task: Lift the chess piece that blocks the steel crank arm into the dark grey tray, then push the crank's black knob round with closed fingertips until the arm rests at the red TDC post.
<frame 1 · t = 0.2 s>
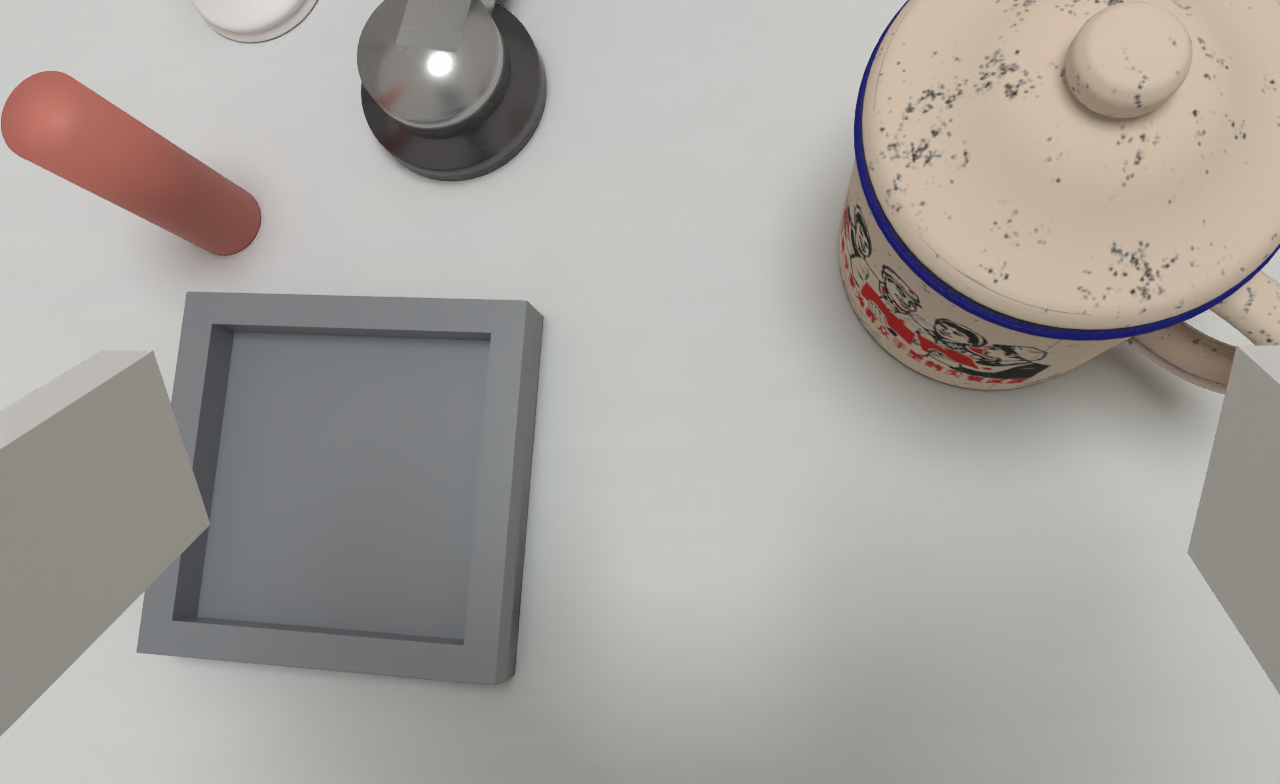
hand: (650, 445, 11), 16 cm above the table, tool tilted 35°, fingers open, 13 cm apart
tray: (361, 480, 29), on the table
crank base: (459, 95, 30), on the table
teacup with lid: (1021, 283, 27), on the table
tdc post: (227, 221, 31), on the table
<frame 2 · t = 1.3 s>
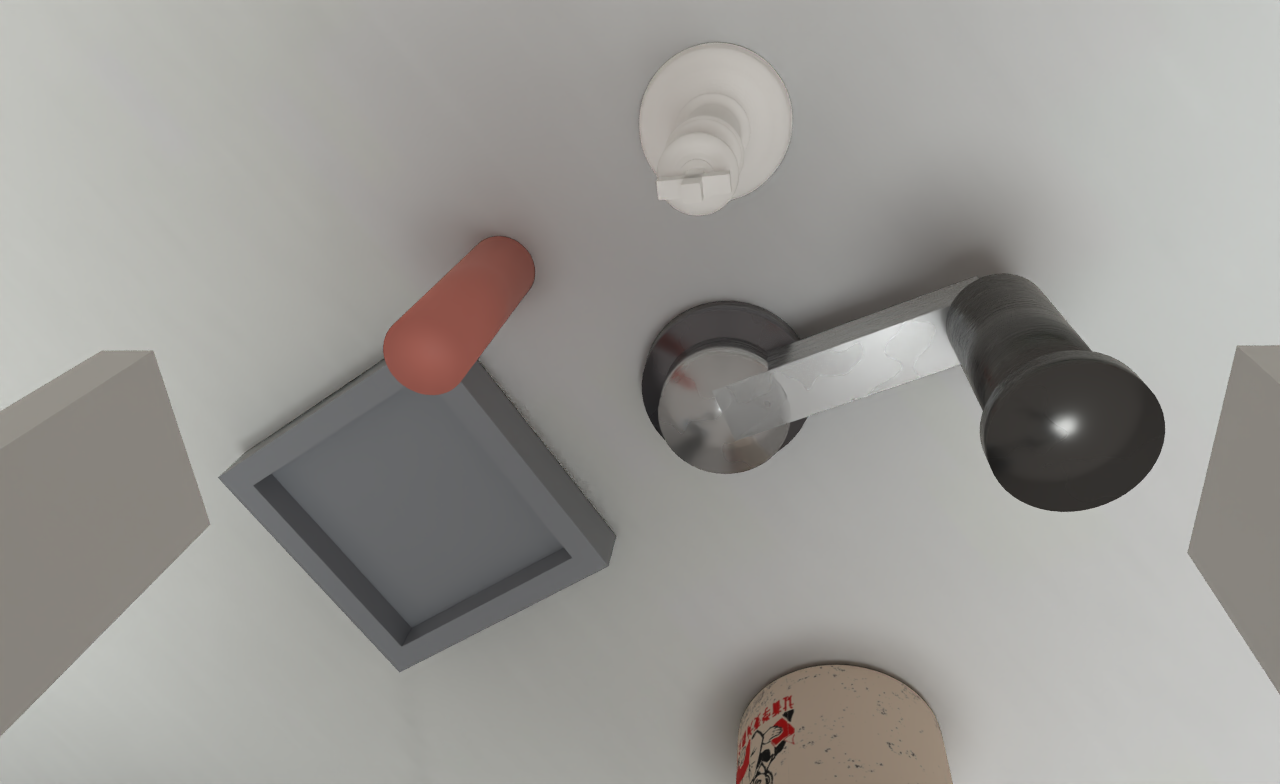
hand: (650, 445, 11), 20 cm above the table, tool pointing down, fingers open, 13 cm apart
tray: (429, 494, 37), on the table
crank base: (727, 379, 33), on the table
chess piece: (715, 123, 29), on the table
teacup with lid: (831, 757, 40), on the table
tdc post: (501, 269, 32), on the table
crank arm: (858, 415, 26), point 6 cm above the table, hinge at -10.0°
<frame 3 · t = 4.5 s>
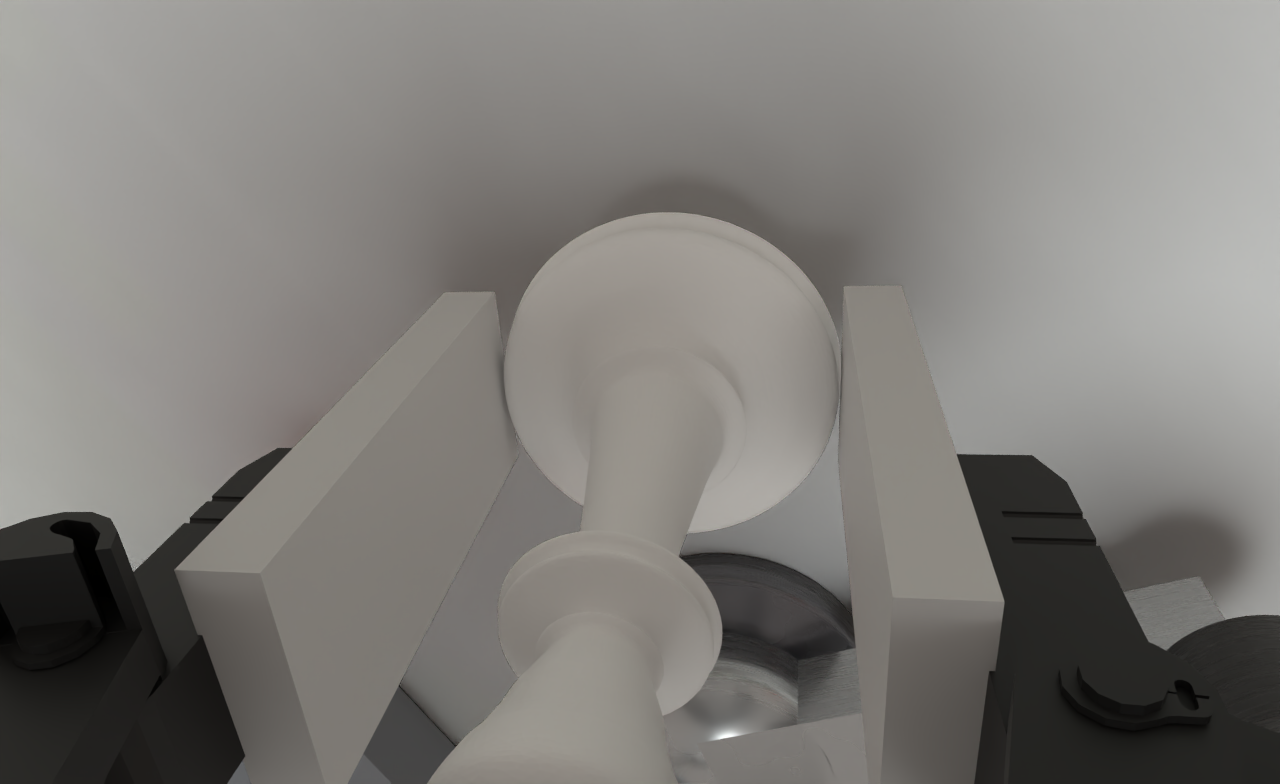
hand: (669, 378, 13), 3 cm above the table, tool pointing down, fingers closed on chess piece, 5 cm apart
tray: (268, 772, 24), on the table
crank base: (728, 665, 20), on the table
chess piece: (673, 368, 14), point 3 cm above the table, touching gripper
when the fingers open (2 cm above the table, at t = 8.8 s): chess piece stays where it is, resting on tray.
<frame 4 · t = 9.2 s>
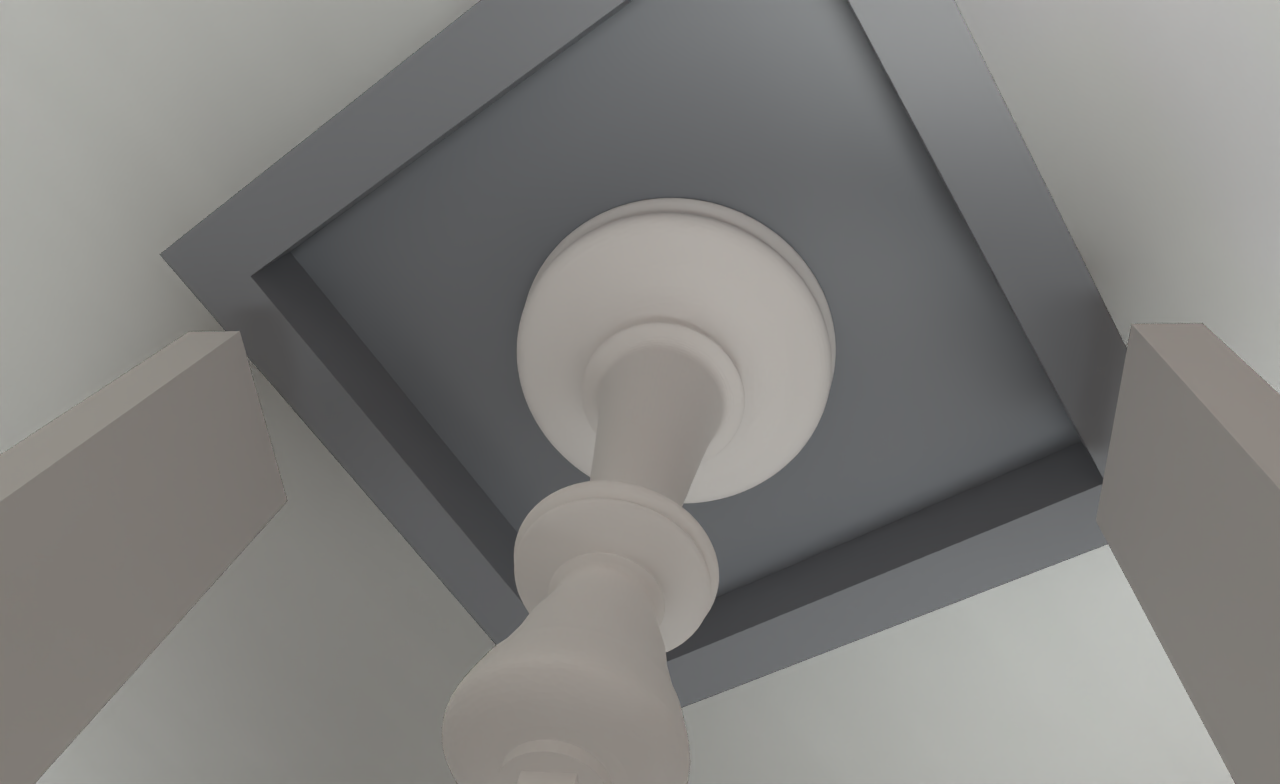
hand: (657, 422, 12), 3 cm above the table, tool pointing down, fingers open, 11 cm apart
tray: (683, 325, 15), on the table
chess piece: (676, 347, 14), point 1 cm above the table, touching tray
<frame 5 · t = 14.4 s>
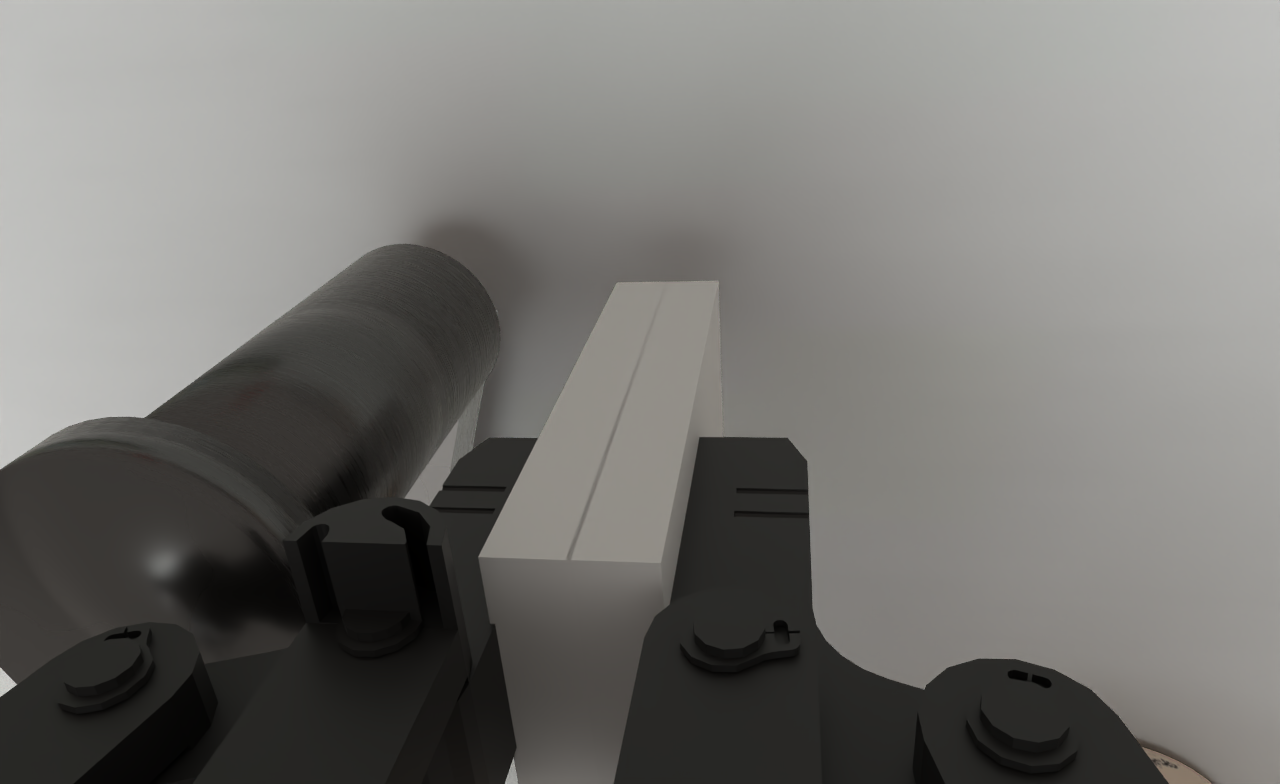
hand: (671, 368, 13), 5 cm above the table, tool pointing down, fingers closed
crank arm: (317, 640, 15), point 6 cm above the table, hinge at -10.0°, touching gripper
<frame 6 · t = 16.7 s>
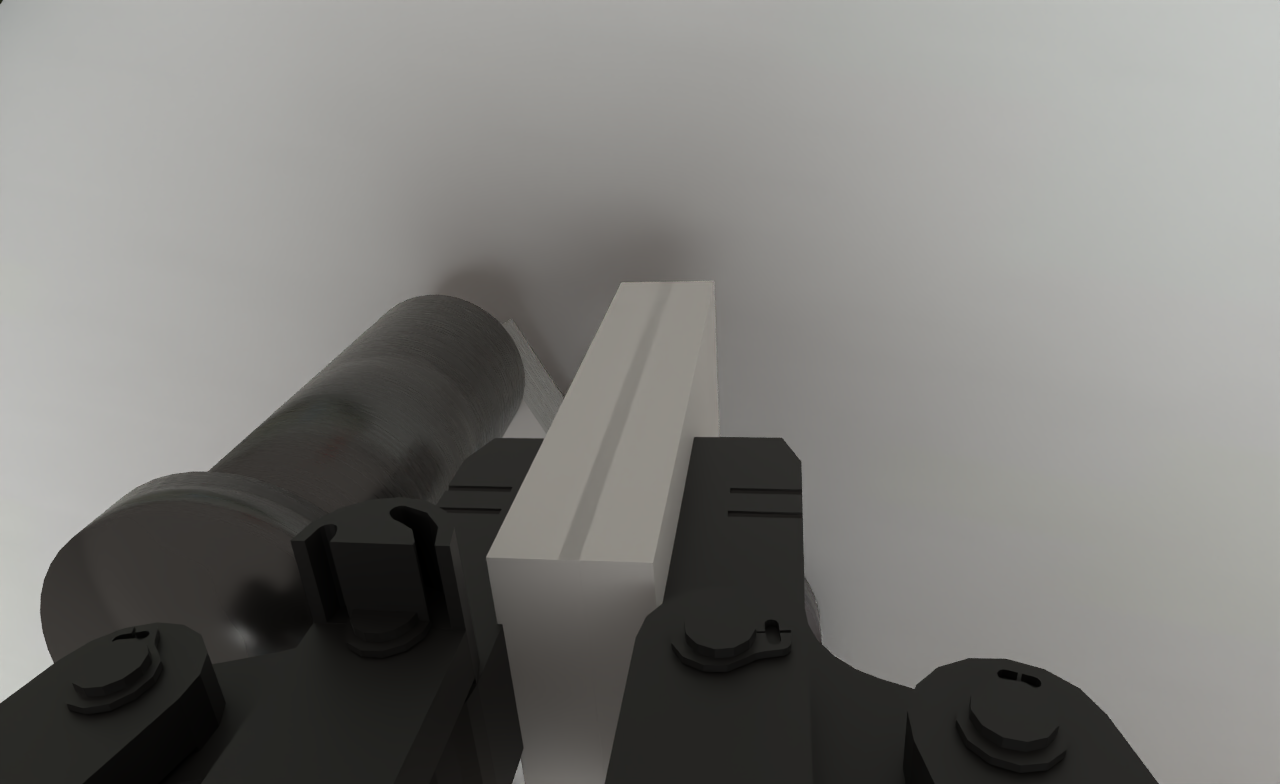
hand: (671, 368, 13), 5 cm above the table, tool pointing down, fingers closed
crank base: (695, 623, 22), on the table
crank arm: (542, 669, 15), point 6 cm above the table, hinge at 46.9°, touching gripper
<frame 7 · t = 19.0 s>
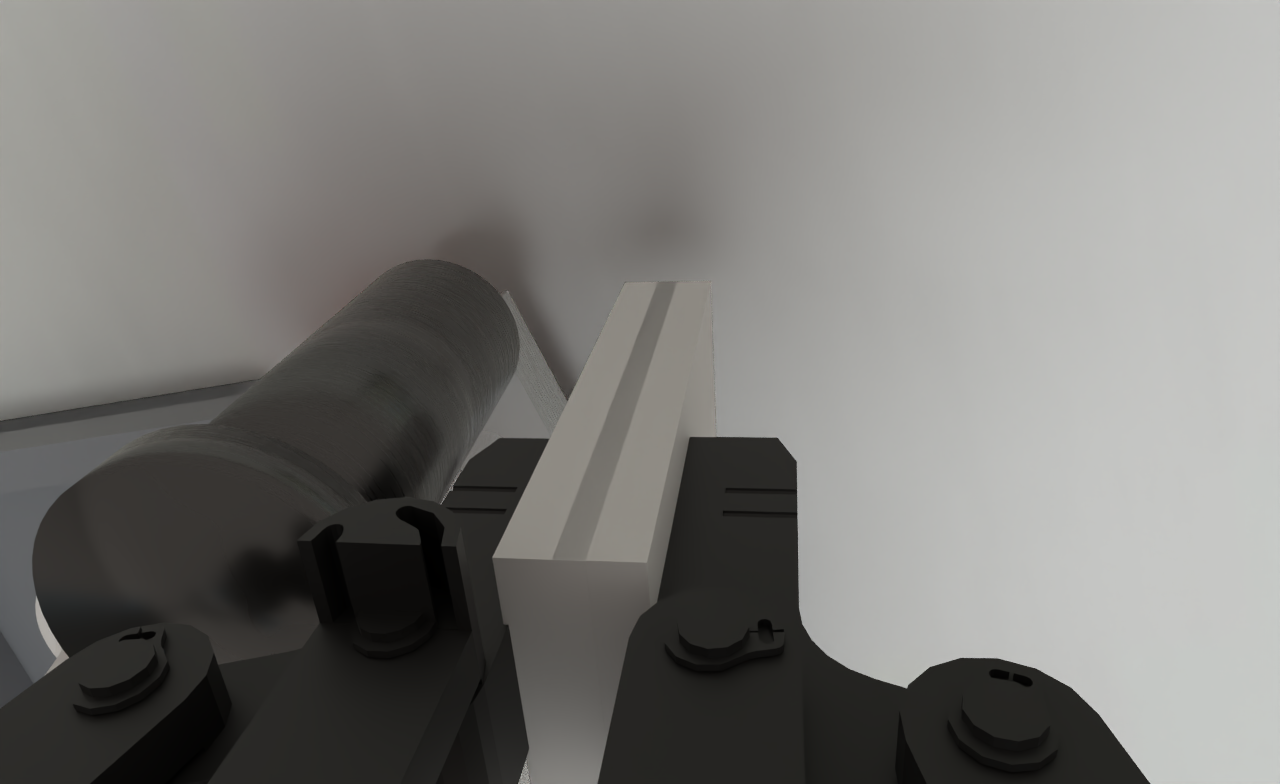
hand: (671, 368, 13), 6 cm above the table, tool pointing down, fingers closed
tray: (164, 593, 24), on the table
chess piece: (148, 611, 24), point 1 cm above the table, touching tray
crank arm: (518, 643, 15), point 6 cm above the table, hinge at 102.8°, touching gripper, tdc post
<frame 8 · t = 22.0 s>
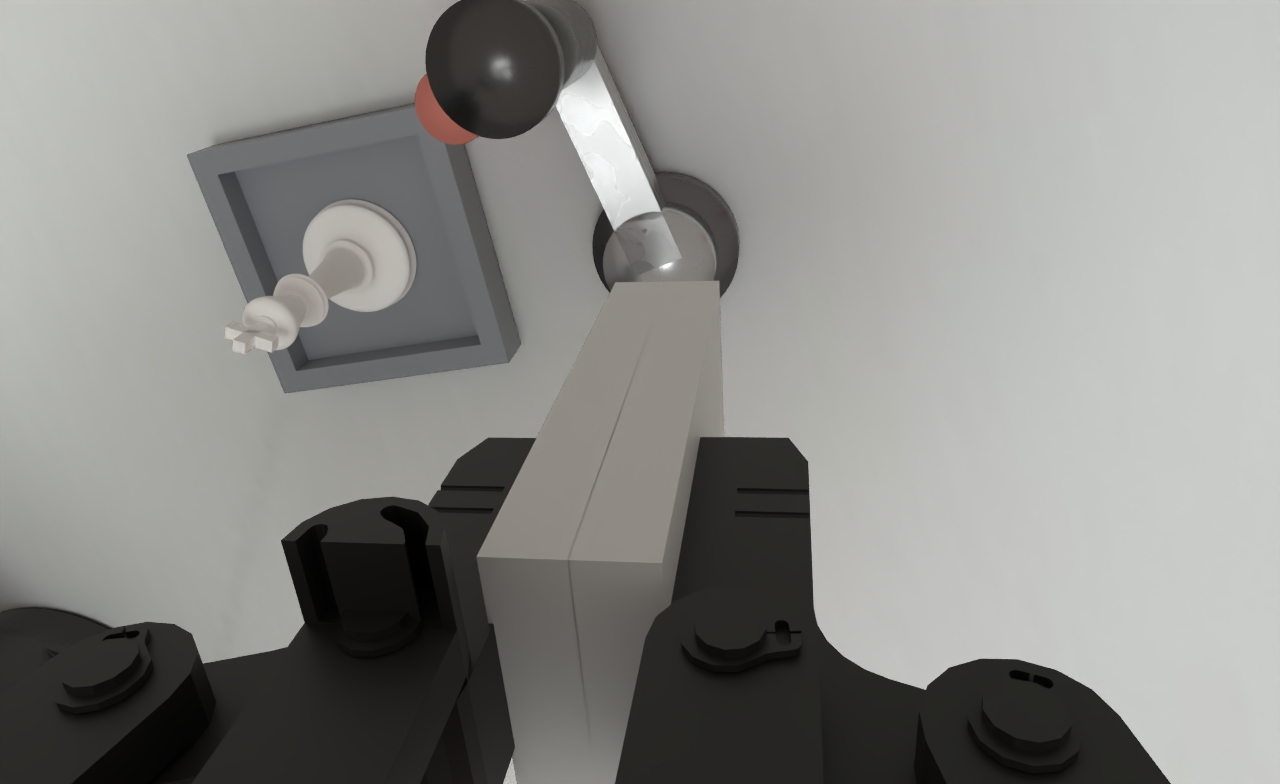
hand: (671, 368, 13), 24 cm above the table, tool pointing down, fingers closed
tray: (371, 247, 40), on the table
crank base: (667, 244, 38), on the table
chess piece: (364, 253, 39), point 1 cm above the table, touching tray
tdc post: (518, 73, 36), on the table
crank arm: (595, 183, 31), point 6 cm above the table, hinge at 102.8°, touching tdc post
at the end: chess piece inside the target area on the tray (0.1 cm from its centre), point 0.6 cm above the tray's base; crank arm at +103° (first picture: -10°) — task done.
